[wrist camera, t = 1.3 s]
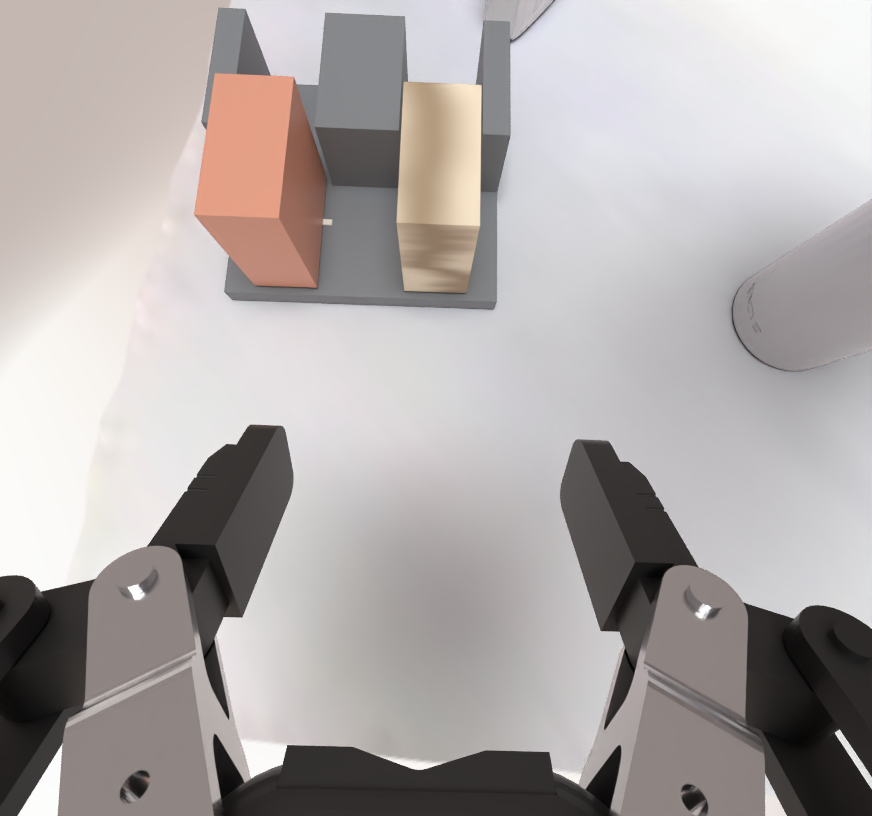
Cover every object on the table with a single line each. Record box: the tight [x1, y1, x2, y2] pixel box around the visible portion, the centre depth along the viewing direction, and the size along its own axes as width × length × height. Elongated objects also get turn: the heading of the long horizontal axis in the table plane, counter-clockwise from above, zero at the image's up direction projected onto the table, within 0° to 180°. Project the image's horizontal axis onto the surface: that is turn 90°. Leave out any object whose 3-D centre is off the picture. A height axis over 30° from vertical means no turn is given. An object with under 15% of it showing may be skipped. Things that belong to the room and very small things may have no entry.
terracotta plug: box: [194, 73, 327, 288], centre depth 31 cm, size 5×10×9 cm, turn 178°
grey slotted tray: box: [201, 8, 510, 309], centre depth 34 cm, size 22×20×8 cm
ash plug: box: [397, 82, 482, 293], centre depth 31 cm, size 5×10×9 cm, turn 178°
